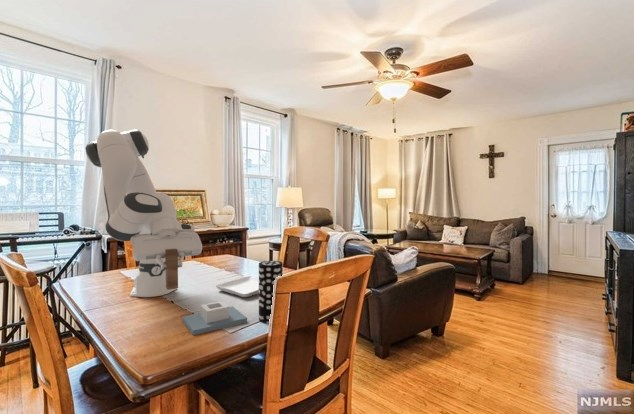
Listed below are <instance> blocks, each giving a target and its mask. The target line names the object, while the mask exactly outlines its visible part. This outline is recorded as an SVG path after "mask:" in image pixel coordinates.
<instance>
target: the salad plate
mask: <svg viewBox="0 0 634 414" xmlns="http://www.w3.org/2000/svg"><path fill="white" fill-rule="evenodd" d="M215 288H216V289H218V290H220V291H222V292H226V293H228V294H231V295H234V294H235V296H238V297H242V298H248V297H253V296H255V294H256V295H259V294H258V293H259V277H255V276H252V275H249V276H245V277H241V278H236V279H234V280H230V281H226V282H223V283H219V284H215ZM252 295H253V296H252Z"/></svg>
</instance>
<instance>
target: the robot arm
mask: <svg viewBox="0 0 634 414" xmlns="http://www.w3.org/2000/svg"><path fill="white" fill-rule="evenodd" d="M96 139H97V140H91V141H89V142H88V143H86V146H85V155H86V157H87V159H88V161H90V163H92V165H94V166H95V167H97V168H101V173H102V181H103V193H104V199H105V205H106V211H107V221H106V223H105V231H106V232H107V233H106V234H108V235H109V237H111V238H112V239H114V240H115V241H118V242H119V241H120V242H130V245H131V246H132V247H133V248H132V259H133V260H134V261H135V262H139V263H138V271H139V272H138V274H136V276H135V277H134V278H133V281H132V283H133V284H134V286H133V287H132V290H131V291H130V294H129V296H130V297H140V298H154V297H159V296H165V295H167V294H169V293H171V292H173V291H176V290H178V288H176V289H170V290H167V288H166V269H167V263H166V262H165V249H177V250H178V269H179V268H183V260H184V258H185V257H191V256H199V255H201V253H202V250H203V243H202V241H201V237H200V236H199V234H198V232H195V231H196V229H195V226H194V225H193V224H188V223H184V222H180V221H178V219H177V218H178V217H177V215H178V214H177V211H176V210H177V209H176V207H175V203H174V201H173V199H172V198H171V197H170V196H169V195H168V194H166V193H163V192H157V190H156V188H155V185H154V183H153V182H152V179H151V176H150V174H149V173H148V171H147V169H146V167H145V165H144V163H143V162H142V160H141V159H140V158H139V157H141V158H142V159H144V158H145V156H146V155H147V154H148V152H149V150H150V148H149V147H150V145H149V140H148V139H147V136H145V134H144V133H142V132H141V131H140V130H139V129H132V130H129V131H123V132H120V131H118V130H115V129H114V130H113V129H108V130H104V131H102V132H100V134H99V135H98V136H97V138H96Z"/></svg>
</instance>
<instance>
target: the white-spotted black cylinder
mask: <svg viewBox="0 0 634 414" xmlns="http://www.w3.org/2000/svg"><path fill="white" fill-rule="evenodd" d="M283 266H284V265H283V261H279V260H264V261H261V262H259V263H258V278H259V294H258V321H259V322H260V323H262V324H269V319H270V314H271V305H272V297H273V285H274V280H275V278H276V277H278V276H282V275H283V268H284V267H283Z"/></svg>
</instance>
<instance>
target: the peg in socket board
mask: <svg viewBox="0 0 634 414" xmlns="http://www.w3.org/2000/svg"><path fill="white" fill-rule="evenodd" d="M182 322H183V324H184V325H185V327H186V328H187V330H188V331H189V332H190V333H191V335H192V336H195V335H201V334H204V333H208V332H209V333H210V332H213V331H217V330H220V329H225V328H229V327H233V326H236V325H237V326H238V325H242V324H245V323H246V324H247V323H248V317H247V316H246V315H244V314H243V313H241V312H240V311H239V310H238V309H237V308H236V307H234V306H229V305H227V304H226V303H225V302H224V301H223V300H219V301H214V302H213V301H212V302H209V303H204V304H200V312H197V313H193V314H189V315H183V316H182Z"/></svg>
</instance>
